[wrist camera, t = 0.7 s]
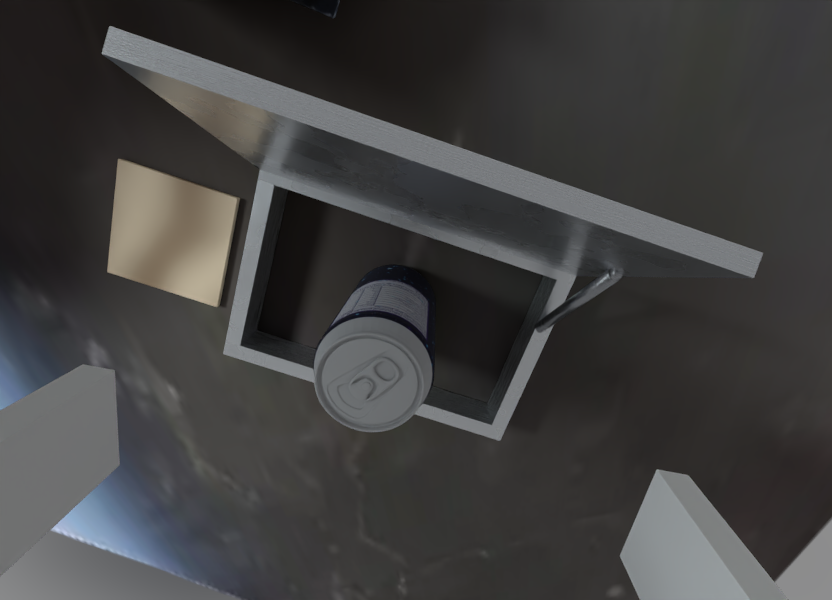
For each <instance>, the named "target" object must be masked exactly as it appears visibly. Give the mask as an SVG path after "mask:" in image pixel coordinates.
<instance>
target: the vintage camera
mask: <svg viewBox="0 0 832 600" xmlns="http://www.w3.org/2000/svg"><path fill="white" fill-rule="evenodd" d="M291 1H293V2H296V3H298V4H301V5H303V6H305V7H308V8H310V9H313V10H315V11H317V12H320V13H322V14H324V15H327V16H329V17H331V18H335V17H336V13H337V9H338V6H339V2H340V0H291Z"/></svg>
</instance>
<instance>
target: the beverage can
mask: <svg viewBox="0 0 832 600" xmlns="http://www.w3.org/2000/svg"><path fill="white" fill-rule="evenodd" d="M435 317H436V301H435V296H434V292H433V290H432V288H431V286H430V284H429V283H428V281H427V280H426V279H425V278H424V277H423V276H422V275H421V274H419V273H418V272H417V271H415V270H413V269H411V268H409V267H406V266H401V265H385V266H381V267H378V268H376V269H374V270H372V271H370V272H369V273H368V274H366V275H365V276H364V277H363V278H362V279H361V281H360V282H359V284H358V285H357V287H356V288H355V290H354V291H353V293H352V294H351V295H350V297H349V298H348V300H347V301H346V303H345V304H344V306H343V307H342V309H341V310H340V312H339V313H338V315H337V316H336V318H335V319H334V321H333V322H332V324H331V325H330V326H329V328H328V329H327V331H326V332H325V334H324V335H323V337H322V338H321V340H320V342H319V344H318V346H317V348H316V351H315V355H314V361H313V370H314V386H315V390H316V394H317V397H318V399H319V401H320V403H321V405H322V406H323V408H324V409H325V410H326V411H327V413H328V414H329V415H330V416H332V417H333V418H334V419H335V420H336V421H338V422H339V423H341V424H343V425H345V426H347V427H349V428H352V429H355V430H358V431H363V432H382V431H387V430H391V429H393V428H396V427H398V426H400V425H402V424H404V423H405V422H406V421H407V420H409V419H410V418H411V417H412V416H413V415H414V414H415V413H416V411H417V410H418V408H419V407H420V406H421V405H422V404H423V402H424V401H425V400H426V398H427V397H428V395H429V393H430V390H431V388H432V385H433V380H434V361H435Z"/></svg>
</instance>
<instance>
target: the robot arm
mask: <svg viewBox="0 0 832 600" xmlns="http://www.w3.org/2000/svg"><path fill="white" fill-rule="evenodd" d="M119 465H120V462H119V443H118V424H117V404H116V385H115V370H111V369H105V368H100V367H94V366H89V365H81V366H79V367H77V368H76V369H74V370H72V371H70V372H69V373H67V374H65V375H63V376H61V377H60V378H58V379H56V380H54V381H52V382H51V383H49V384H47V385H45V386H43V387H42V388H40V389H38V390H36V391H35V392H33V393H31V394H29V395H27V396H26V397H24V398H22V399H20V400H18V401H17V402H15V403H13V404H11V405H9V406H8V407H6V408H4V409H2V410H1V411H0V576H1V575H3V574H4V573H5V572H6V571H7V570H8V569H9V568H10V567H11V566H12V565H13V564H14V563H15V562H17V561H18V560H19V559H20V558H21V557H22V556H23V555H24V554H25V553H26V552H27V551H28V550H29V549H30V548H31V547H33V545H35V544H36V543H37V542H38V541H39V540H40V539H41V538H42V537H43V536H44V535H45V534H46V533H47V532H49V531H50V530H51V529H52V528H53V527H54V526H55V525H56V524H57V523H58V522H59V521H60V520H61V519H62V518H64V517H65V516H66V515H67V514H68V513H69V512H70V511H71V510H72V509H73V508H74V507H75V506H76V505H77V504H78V503H80V502H81V501H82V500H83V499H84V498H85V497H86V496H87V495H88V494H89V493H90V492H91V491H92V490H93V489H94V488H96V487H97V486H98V485H99V484H100V483H101V482H102V481H103V480H104V479H105V478H106V477H107V476H108V475H109V474H110V473H112V472H113V471H114V470H115V469H116V468H117V467H118V466H119ZM620 558H621V560H622V562H623V564H624V566H625V568H626V571H627V573H628V575H629V577H630V579H631V581H632V584H633V586H634V588H635V590H636V592H637V594H638V597H639V599H640V600H788V599H787V597H786V596H785V595H784V594H783V592H782V591H781V590H780V589H779V587H778V586H777V585H776V584H775V582H774V581H773V580H772V579H771V577H770V576H769V575H768V574H767V572H766V571H765V570H764V569H763V567H762V566H761V565H760V564H759V562H758V561H757V560H756V559H755V557H754V556H753V555H752V554H751V552H750V551H749V550H748V549H747V548H746V546H745V545H744V544H743V543H742V541H741V540H740V539H739V538H738V536H737V535H736V534H735V533H734V531H733V530H732V529H731V528H730V526H729V525H728V524H727V523H726V521H725V520H724V519H723V518H722V516H721V515H720V514H719V513H718V511H717V510H716V509H715V508H714V506H713V505H712V504H711V503H710V501H709V500H708V499H707V498H706V497H705V495H704V494H703V493H702V492H701V490H700V489H699V488H698V487H697V485H696V484H695V483H694V482H693V480H692V479H691V478H690V477H689V475H685V474H680V473H674V472H669V471H663V470H658V469H657V470H656V472H655V475H654V477H653V479H652V482H651V484H650V486H649V489H648V491H647V493H646V496H645V498H644V500H643V503H642V505H641V507H640V510H639V512H638V514H637V517H636V519H635V521H634V524H633V526H632V528H631V531H630V533H629V535H628V538H627V540H626V542H625V545H624V547H623V549H622V552H621V554H620Z"/></svg>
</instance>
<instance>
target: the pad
mask: <svg viewBox="0 0 832 600" xmlns="http://www.w3.org/2000/svg"><path fill="white" fill-rule="evenodd" d="M239 201H240V198H239V197H236V196H233V195H230V194H227V193H224V192H221V191H218V190H215V189H212V188H209V187H206V186H203V185H200V184H197V183H194V182H191V181H188V180H185V179H182V178H179V177H176V176H173V175H170V174H167V173H164V172H161V171H158V170H155V169H152V168H149V167H146V166H143V165H140V164H137V163H134V162H131V161H128V160H125V159H118V164H117V175H116V185H115V196H114V206H113V216H112V227H111V237H110V248H109V258H108V269H107V272H108V273H112V274H115V275H118V276H121V277H124V278H127V279H130V280H133V281H137V282H140V283H143V284H146V285H149V286H152V287H155V288H159V289H162V290H165V291H168V292H171V293H174V294H177V295H180V296H184V297H187V298H190V299H193V300H196V301H199V302H202V303H206V304H209V305H212V306H215V307H218V306H220V302H221V297H222V291H223V286H224V281H225V275H226V270H227V265H228V260H229V254H230V249H231V244H232V238H233V233H234V228H235V223H236V217H237V212H238V207H239Z"/></svg>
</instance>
